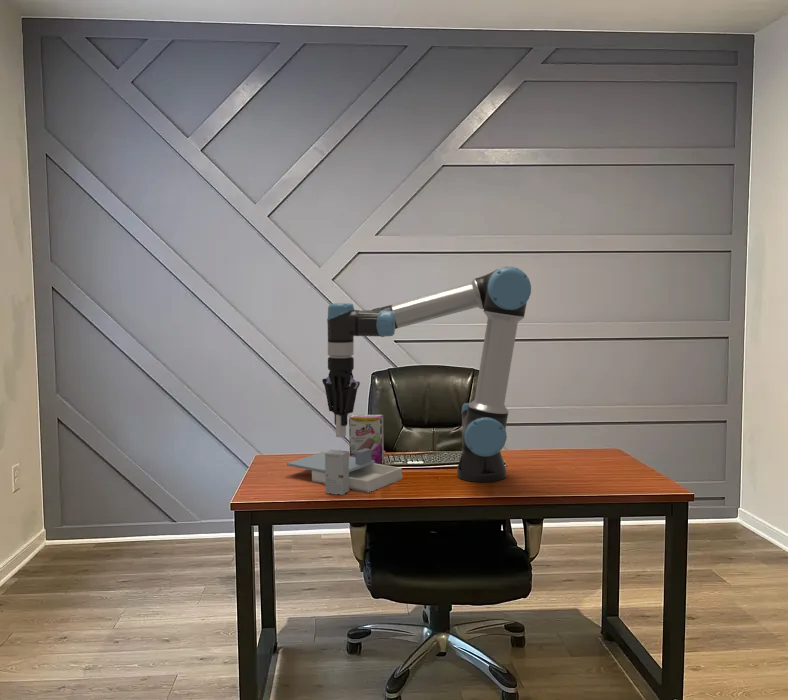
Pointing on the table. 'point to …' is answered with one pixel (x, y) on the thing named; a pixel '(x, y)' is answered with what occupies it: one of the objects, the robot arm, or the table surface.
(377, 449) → the candy bar box
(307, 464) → the lid
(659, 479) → the table surface
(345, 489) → the skincare box
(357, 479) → the white shallow tray
